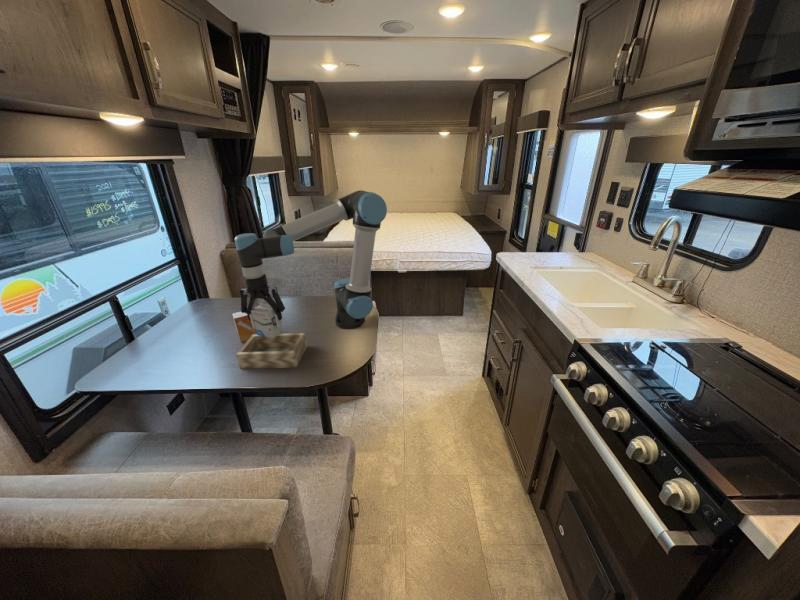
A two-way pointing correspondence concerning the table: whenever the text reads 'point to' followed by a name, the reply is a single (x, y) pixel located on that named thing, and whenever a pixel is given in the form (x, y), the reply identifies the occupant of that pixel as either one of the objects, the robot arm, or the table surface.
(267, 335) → the ink box
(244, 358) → the crate
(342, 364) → the table surface
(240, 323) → the small box
